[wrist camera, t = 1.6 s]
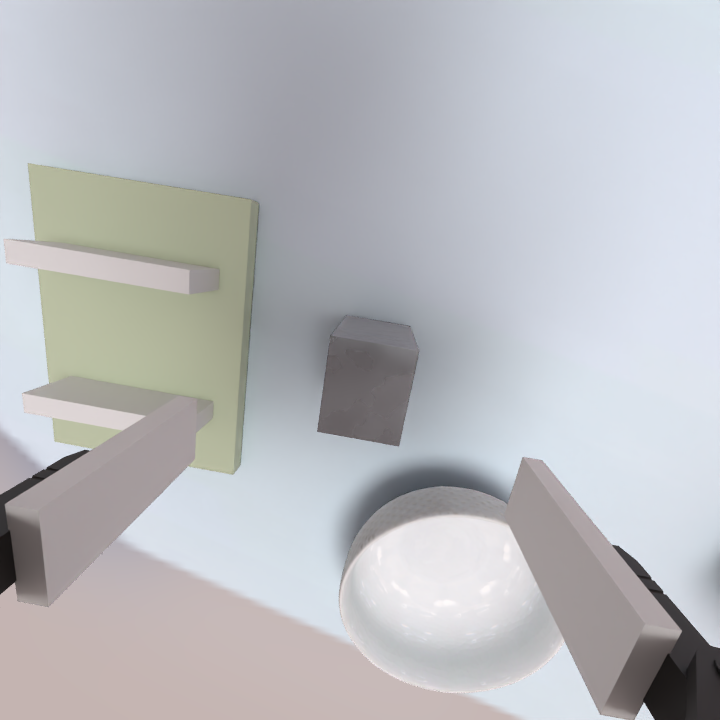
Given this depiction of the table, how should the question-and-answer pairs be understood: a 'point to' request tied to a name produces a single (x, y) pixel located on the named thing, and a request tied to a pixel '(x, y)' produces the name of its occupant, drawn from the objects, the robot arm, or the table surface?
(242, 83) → the table surface
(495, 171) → the table surface
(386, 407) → the brushed metal block
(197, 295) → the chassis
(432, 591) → the cereal bowl
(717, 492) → the table surface
